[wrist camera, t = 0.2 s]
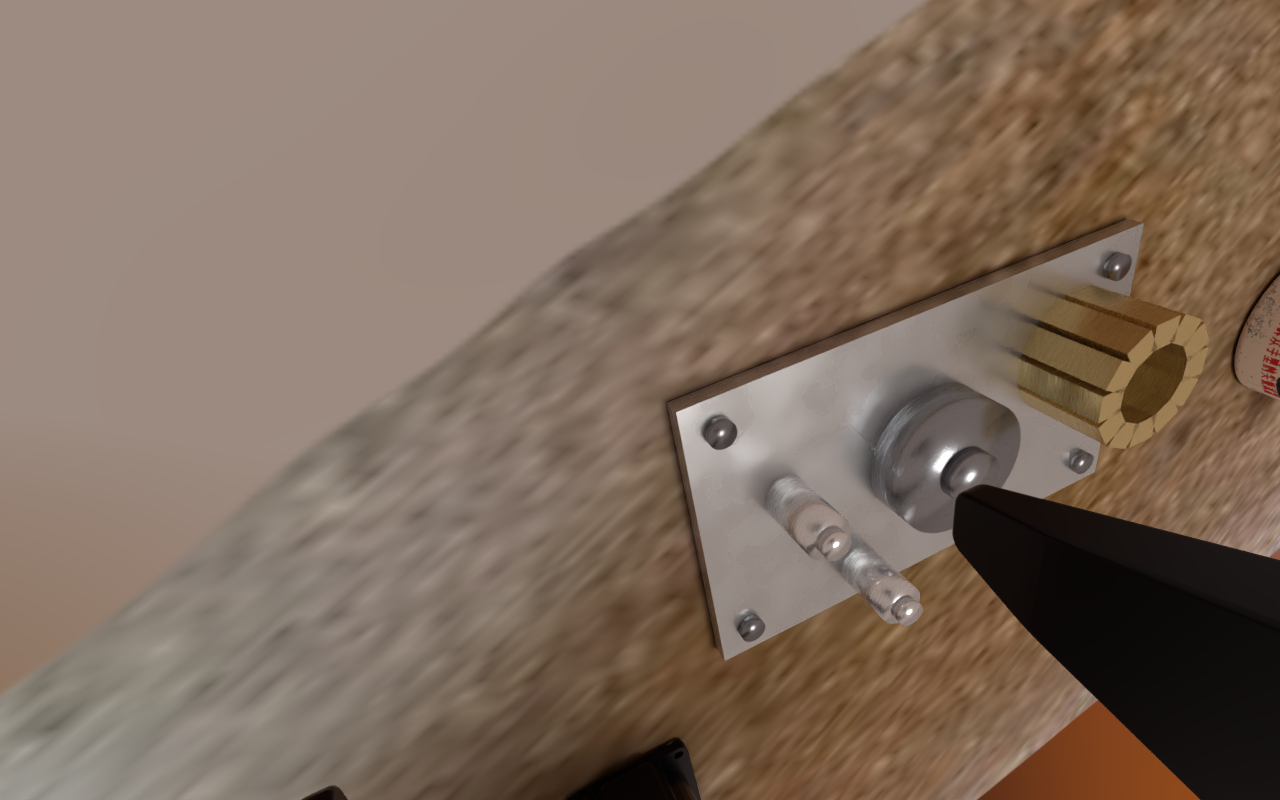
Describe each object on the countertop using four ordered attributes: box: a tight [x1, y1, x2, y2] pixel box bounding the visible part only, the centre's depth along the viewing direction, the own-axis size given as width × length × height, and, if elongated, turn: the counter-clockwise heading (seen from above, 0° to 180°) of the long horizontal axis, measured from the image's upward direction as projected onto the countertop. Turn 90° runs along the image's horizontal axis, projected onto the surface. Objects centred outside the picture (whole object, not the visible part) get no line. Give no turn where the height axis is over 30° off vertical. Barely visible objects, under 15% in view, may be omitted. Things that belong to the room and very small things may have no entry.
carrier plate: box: [667, 219, 1144, 661], centre depth 30 cm, size 14×23×4 cm, turn 102°
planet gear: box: [1017, 285, 1209, 449], centre depth 30 cm, size 6×6×4 cm
